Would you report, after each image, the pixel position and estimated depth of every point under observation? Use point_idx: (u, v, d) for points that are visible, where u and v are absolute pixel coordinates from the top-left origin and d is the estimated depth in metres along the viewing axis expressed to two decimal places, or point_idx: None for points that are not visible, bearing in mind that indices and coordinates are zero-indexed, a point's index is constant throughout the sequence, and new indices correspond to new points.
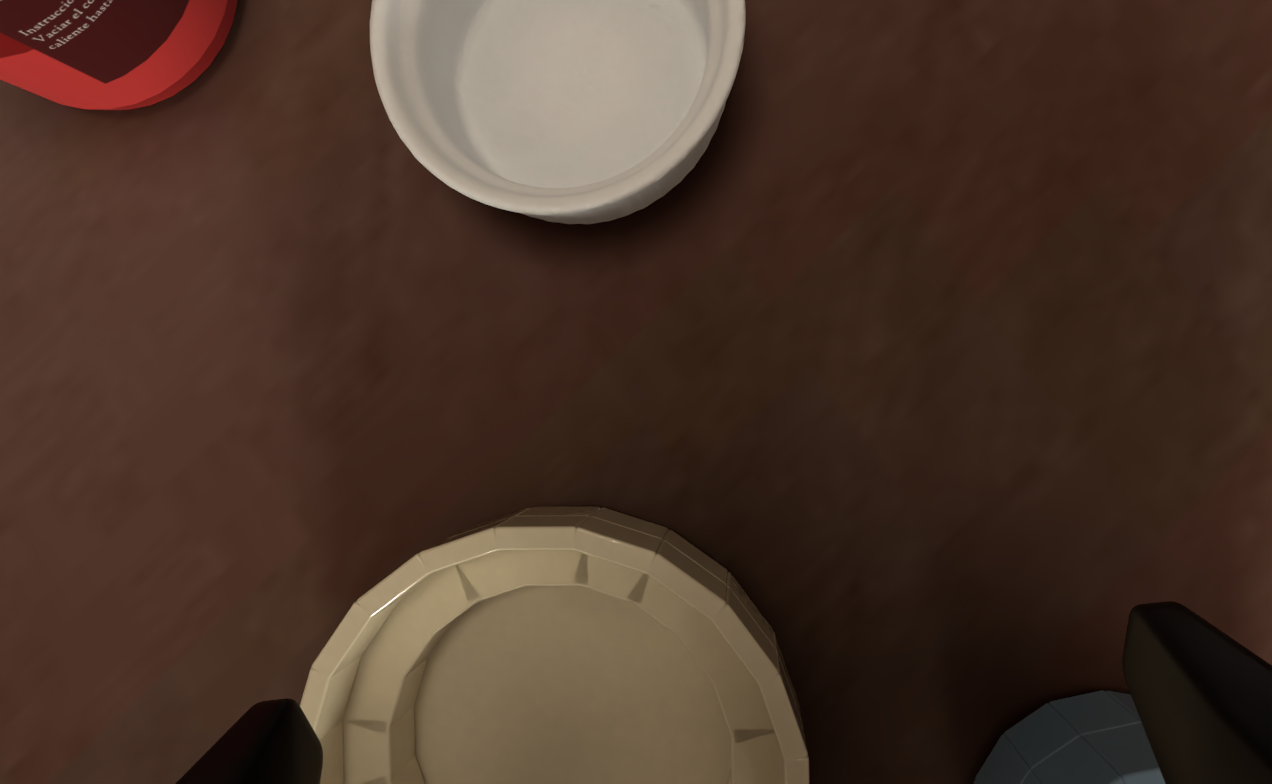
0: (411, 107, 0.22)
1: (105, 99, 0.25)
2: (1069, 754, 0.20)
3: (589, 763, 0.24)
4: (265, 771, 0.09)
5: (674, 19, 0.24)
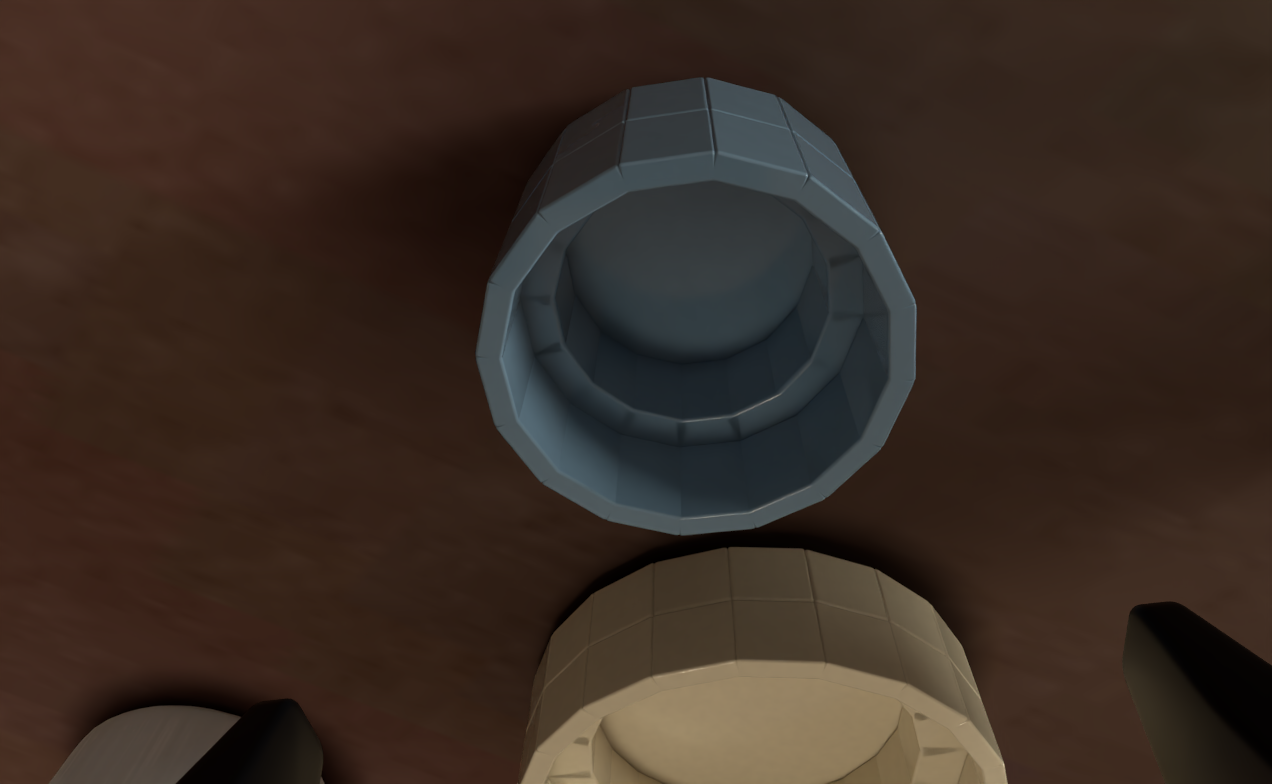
0: None
1: None
2: None
3: (773, 690, 0.25)
4: (265, 771, 0.09)
5: None
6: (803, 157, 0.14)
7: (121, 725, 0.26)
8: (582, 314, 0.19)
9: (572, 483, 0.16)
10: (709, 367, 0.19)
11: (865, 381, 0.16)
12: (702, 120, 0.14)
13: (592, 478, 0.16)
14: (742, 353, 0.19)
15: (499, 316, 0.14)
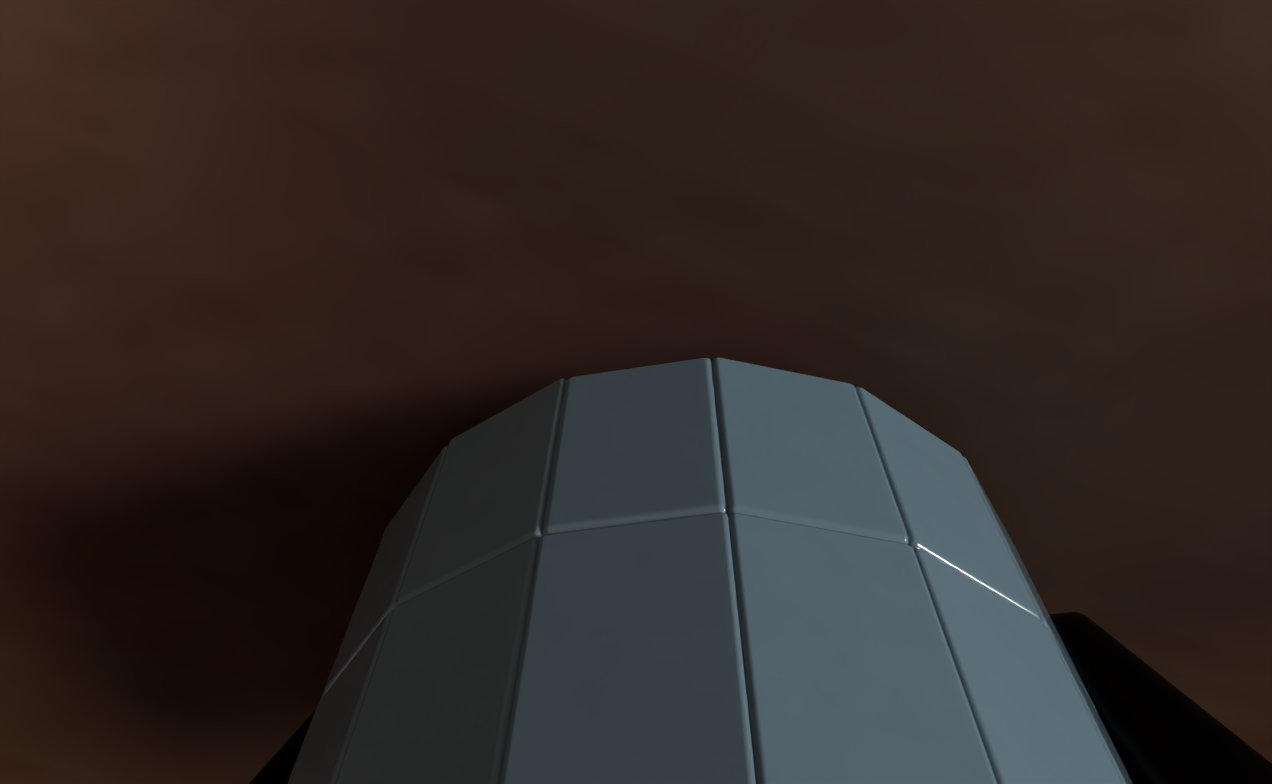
0: None
1: None
2: None
3: None
4: None
5: None
6: (972, 697, 0.05)
7: None
8: None
9: None
10: None
11: None
12: (715, 572, 0.06)
13: None
14: None
15: None
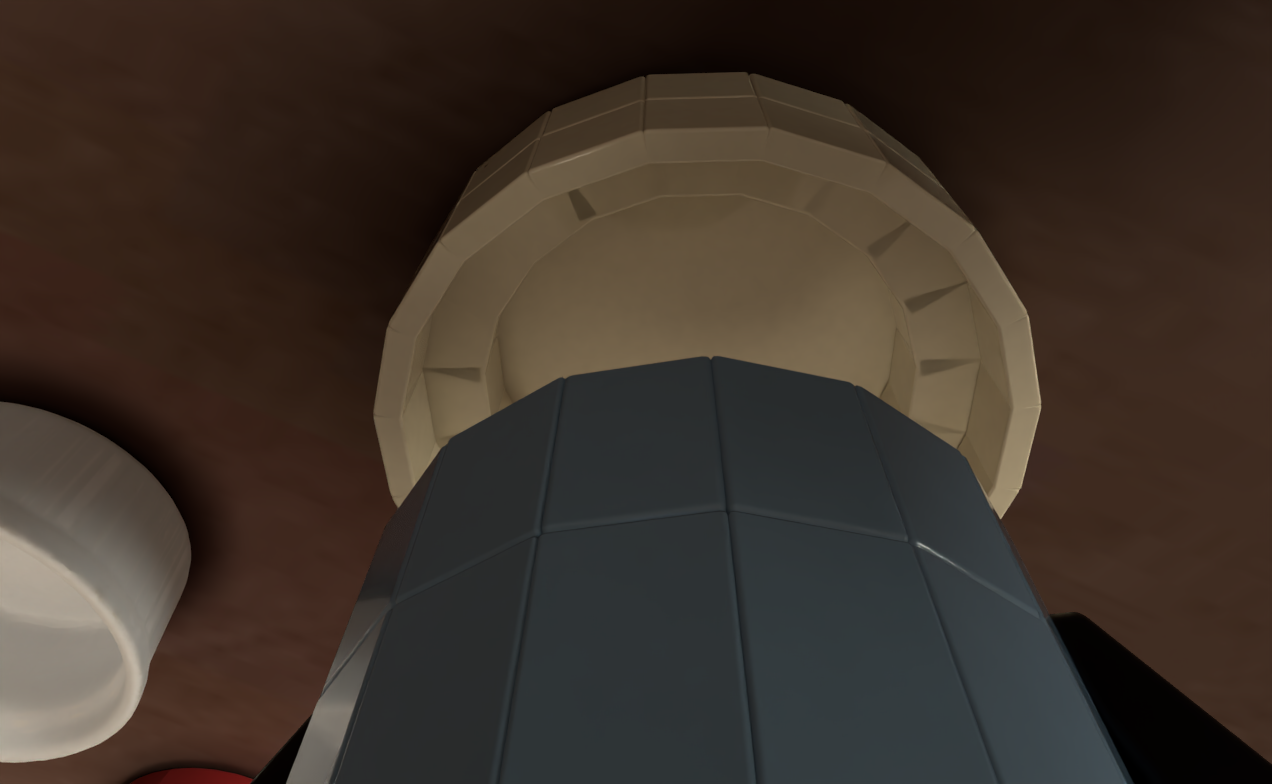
0: (107, 706, 0.22)
1: None
2: None
3: (725, 325, 0.20)
4: None
5: None
6: (972, 695, 0.05)
7: None
8: None
9: None
10: None
11: None
12: (715, 570, 0.06)
13: None
14: None
15: None
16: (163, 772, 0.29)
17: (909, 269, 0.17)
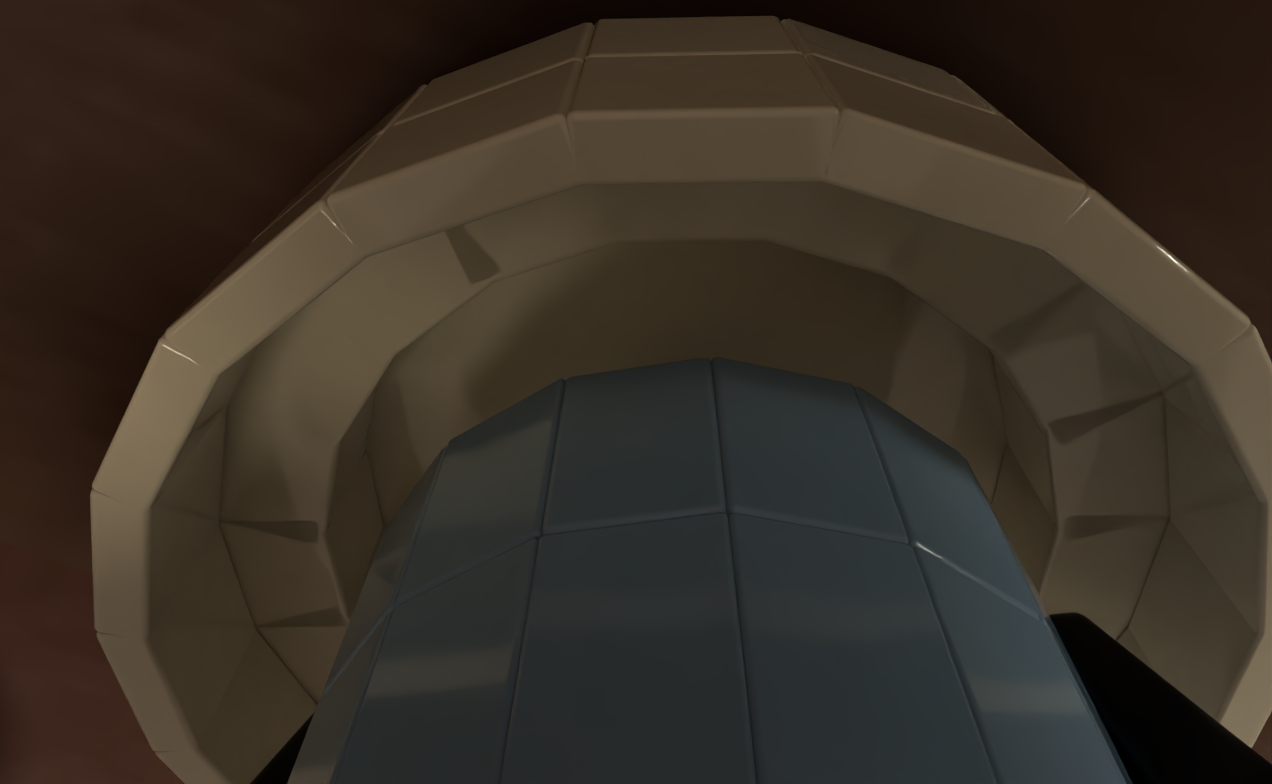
0: None
1: None
2: None
3: None
4: None
5: None
6: (972, 697, 0.05)
7: None
8: None
9: None
10: None
11: None
12: (715, 572, 0.06)
13: None
14: None
15: None
16: None
17: (1063, 371, 0.09)
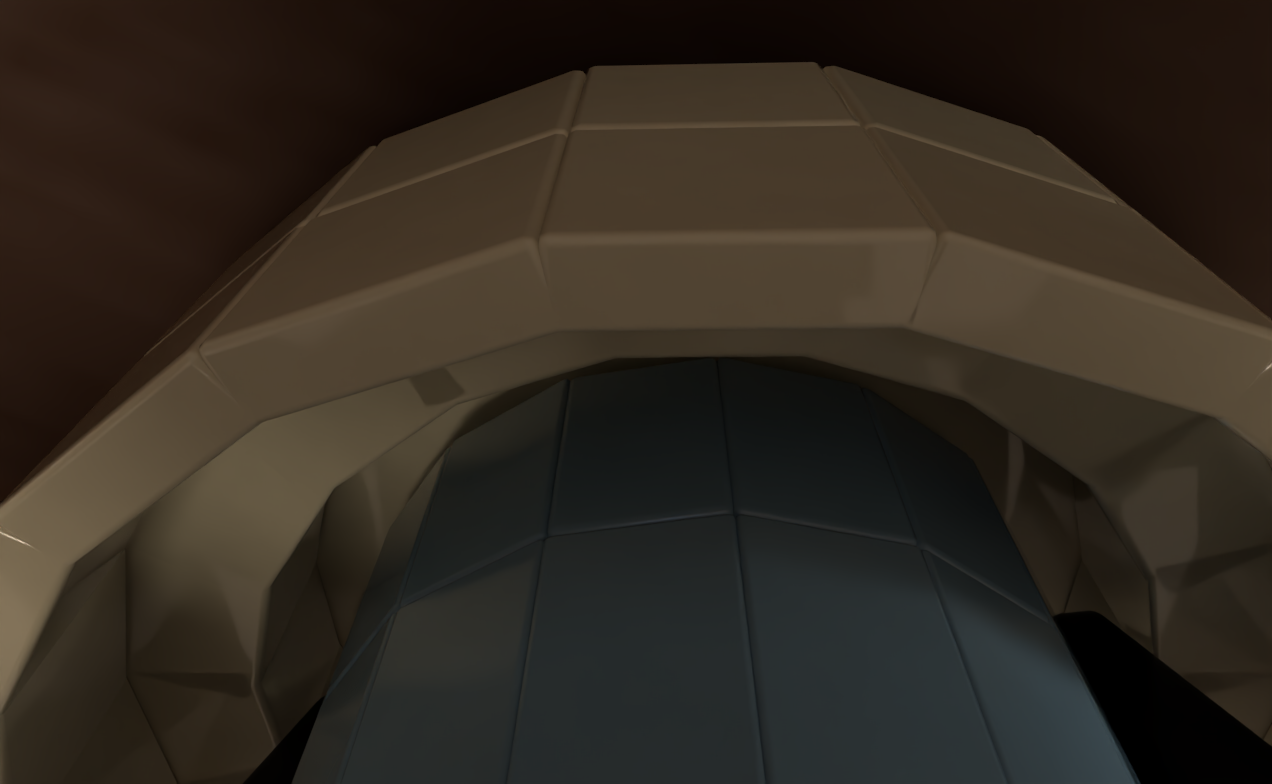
0: None
1: None
2: None
3: None
4: None
5: None
6: (982, 701, 0.05)
7: None
8: None
9: None
10: None
11: None
12: (722, 574, 0.06)
13: None
14: None
15: None
16: None
17: (1179, 511, 0.07)
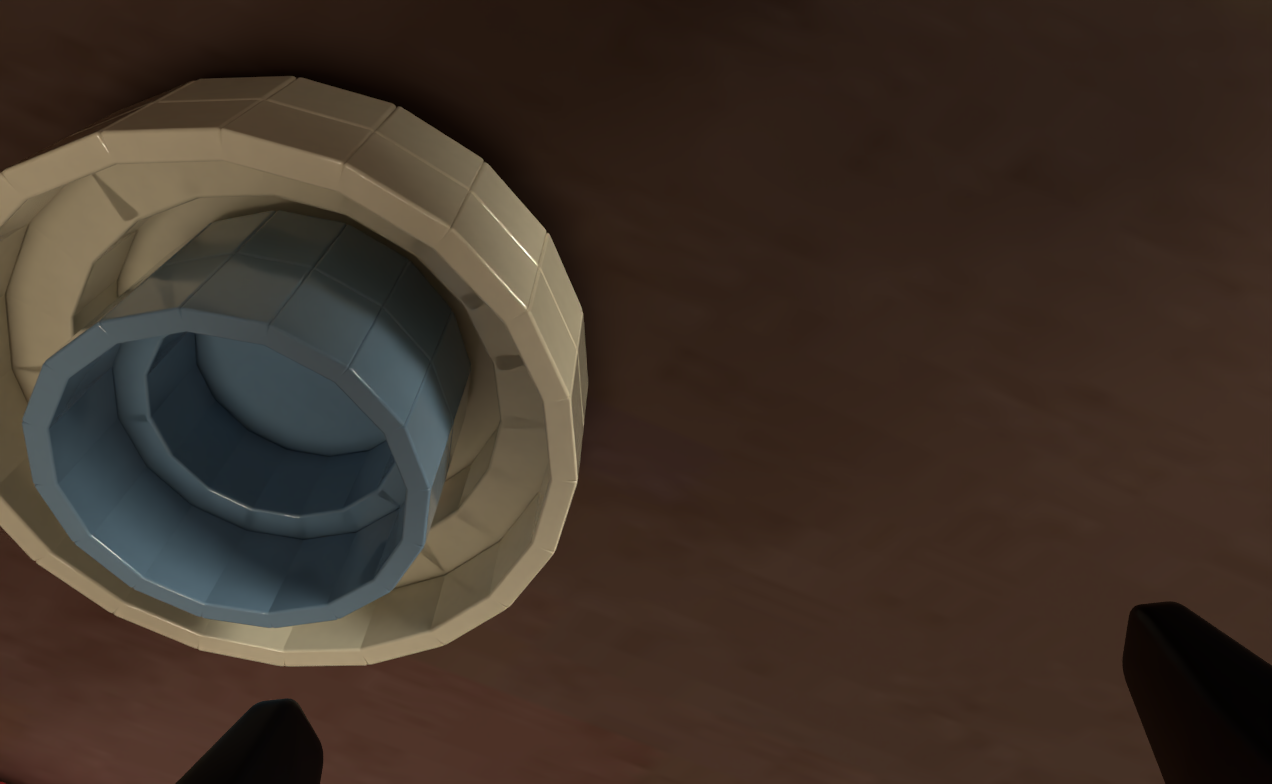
0: None
1: None
2: None
3: None
4: (265, 771, 0.09)
5: None
6: (289, 301, 0.15)
7: None
8: (220, 418, 0.20)
9: (158, 587, 0.18)
10: (351, 459, 0.21)
11: None
12: (213, 267, 0.16)
13: (184, 580, 0.18)
14: (380, 445, 0.21)
15: (41, 450, 0.16)
16: None
17: None
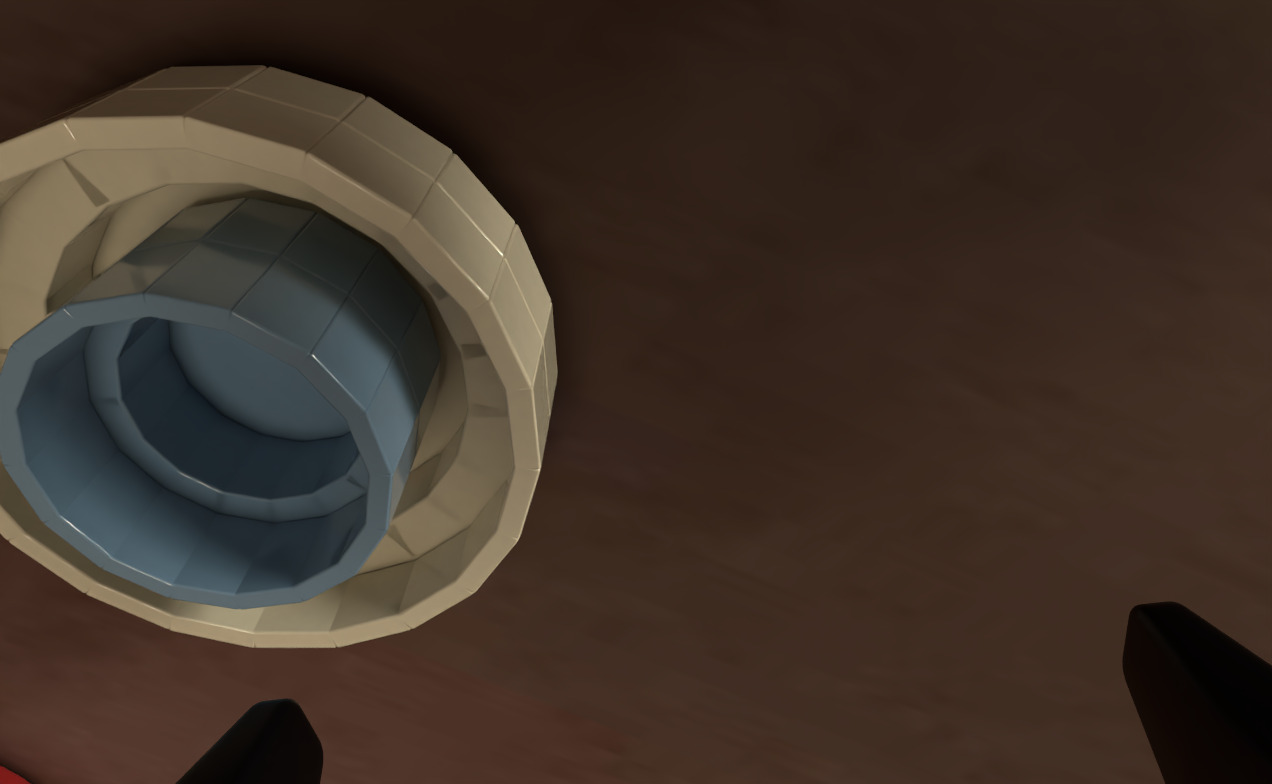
0: None
1: None
2: None
3: None
4: (265, 771, 0.09)
5: None
6: (253, 288, 0.15)
7: None
8: (193, 403, 0.21)
9: (127, 568, 0.18)
10: (323, 445, 0.21)
11: None
12: (179, 254, 0.16)
13: (153, 561, 0.18)
14: None
15: (9, 431, 0.16)
16: None
17: None
